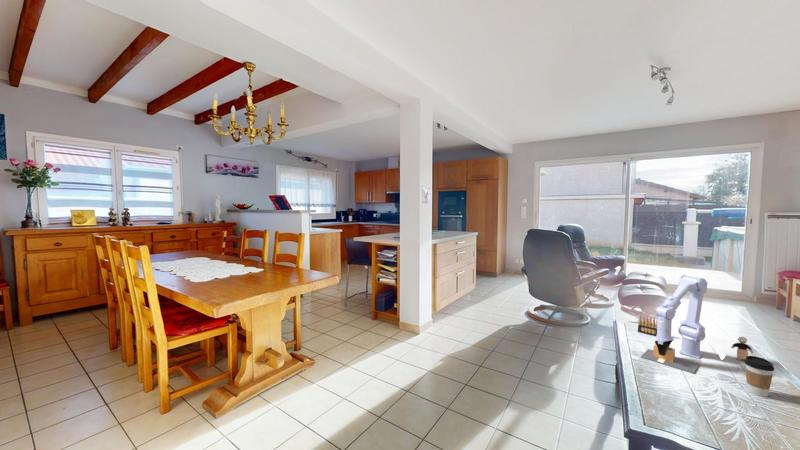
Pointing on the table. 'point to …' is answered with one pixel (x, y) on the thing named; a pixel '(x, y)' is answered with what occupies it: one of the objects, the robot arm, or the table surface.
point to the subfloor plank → (677, 363)
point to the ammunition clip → (647, 326)
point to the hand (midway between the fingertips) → (663, 353)
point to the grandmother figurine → (742, 348)
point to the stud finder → (668, 355)
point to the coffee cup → (758, 375)
